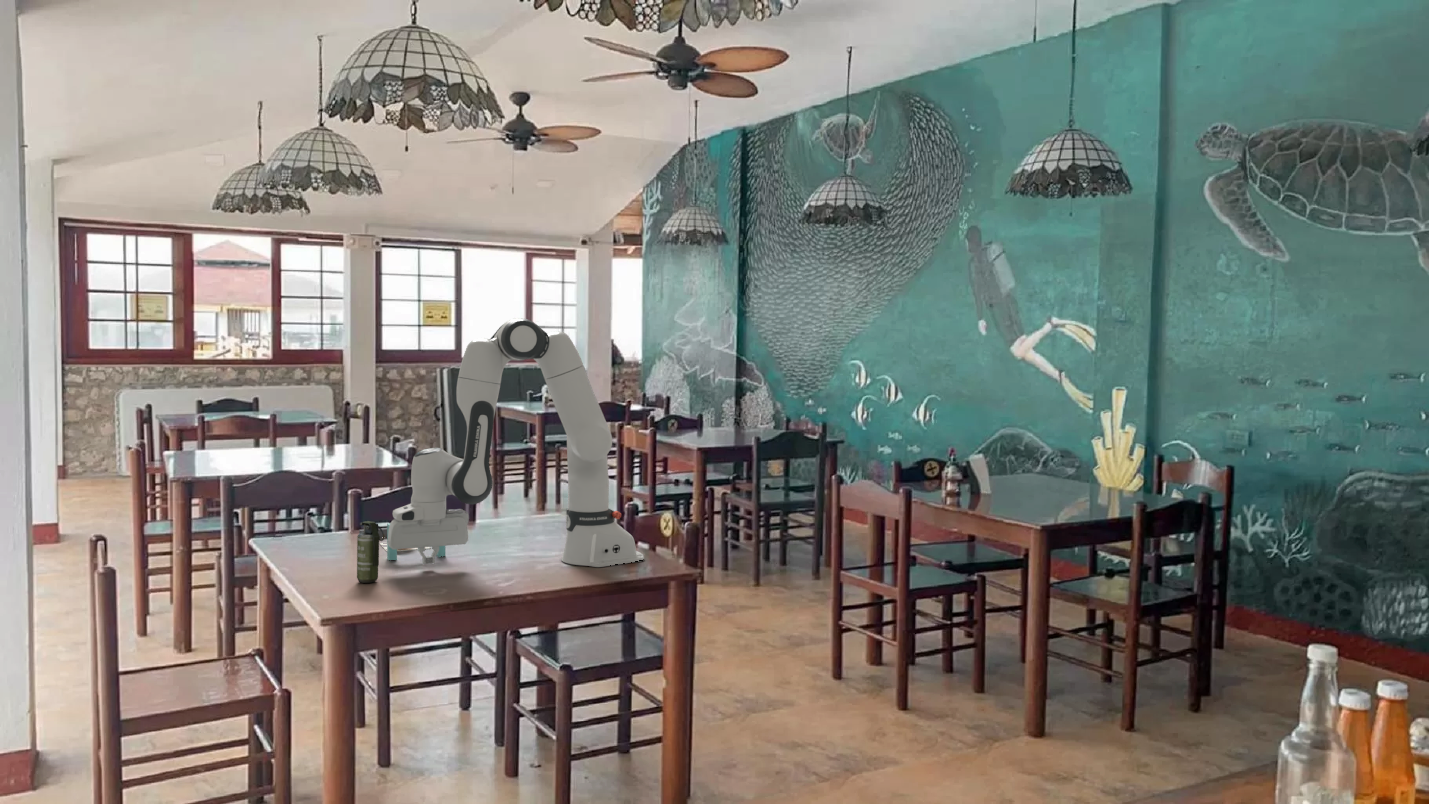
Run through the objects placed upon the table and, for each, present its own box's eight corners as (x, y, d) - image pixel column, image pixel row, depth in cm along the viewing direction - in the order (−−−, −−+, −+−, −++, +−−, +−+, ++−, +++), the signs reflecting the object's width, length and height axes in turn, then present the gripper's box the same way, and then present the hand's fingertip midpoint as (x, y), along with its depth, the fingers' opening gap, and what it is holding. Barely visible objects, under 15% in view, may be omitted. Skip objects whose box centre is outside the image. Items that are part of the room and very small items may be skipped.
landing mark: (421, 540, 320) (421, 539, 320) (430, 548, 309) (430, 548, 309) (379, 543, 314) (379, 542, 314) (387, 552, 304) (387, 551, 304)
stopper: (427, 533, 331) (427, 525, 330) (429, 534, 329) (429, 526, 329) (359, 538, 321) (359, 529, 321) (360, 539, 320) (360, 530, 320)
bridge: (387, 558, 295) (387, 523, 295) (442, 554, 302) (442, 519, 302) (389, 561, 293) (389, 525, 292) (445, 556, 300) (445, 521, 299)
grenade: (352, 582, 269) (352, 522, 268) (369, 578, 274) (369, 519, 273) (370, 586, 266) (370, 525, 265) (387, 581, 271) (387, 521, 270)
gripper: (465, 506, 291) (465, 557, 292) (386, 511, 281) (386, 564, 282) (471, 510, 285) (471, 562, 286) (391, 515, 276) (391, 569, 277)
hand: (428, 563), depth 284 cm, fingers closed
